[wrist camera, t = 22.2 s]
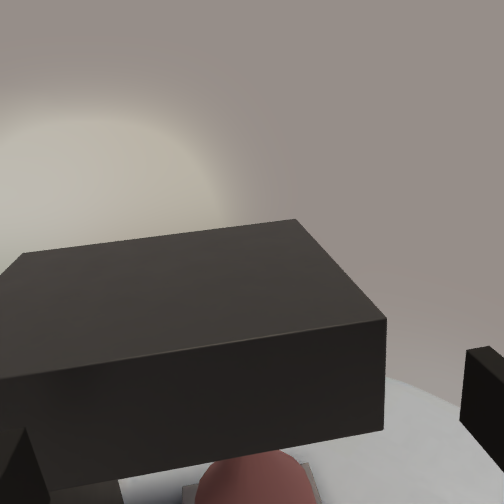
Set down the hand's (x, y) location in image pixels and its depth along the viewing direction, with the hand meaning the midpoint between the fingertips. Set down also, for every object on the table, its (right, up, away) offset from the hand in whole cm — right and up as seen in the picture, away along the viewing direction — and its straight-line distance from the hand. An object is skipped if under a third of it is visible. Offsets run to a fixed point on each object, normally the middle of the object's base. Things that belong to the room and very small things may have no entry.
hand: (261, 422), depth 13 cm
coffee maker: (-3, -16, +15) cm, 22 cm away
